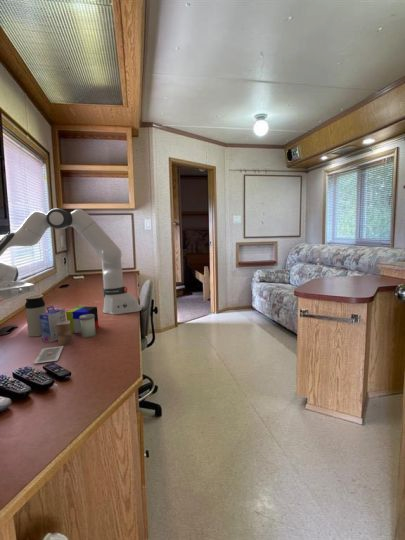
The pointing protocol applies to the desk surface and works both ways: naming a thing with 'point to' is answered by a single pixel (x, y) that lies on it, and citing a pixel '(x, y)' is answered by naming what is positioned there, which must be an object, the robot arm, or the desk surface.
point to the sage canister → (87, 325)
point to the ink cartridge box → (51, 323)
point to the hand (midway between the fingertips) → (20, 291)
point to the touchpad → (49, 354)
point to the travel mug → (34, 314)
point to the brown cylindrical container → (64, 333)
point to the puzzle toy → (76, 313)
